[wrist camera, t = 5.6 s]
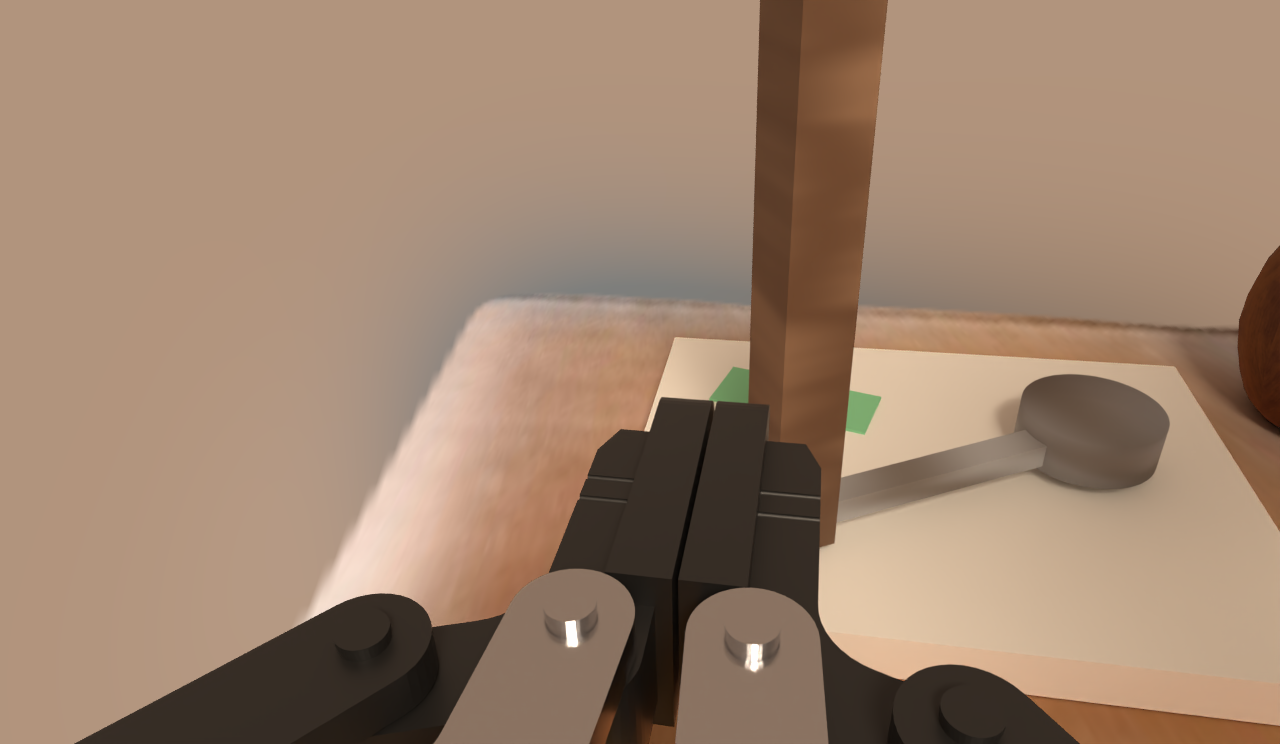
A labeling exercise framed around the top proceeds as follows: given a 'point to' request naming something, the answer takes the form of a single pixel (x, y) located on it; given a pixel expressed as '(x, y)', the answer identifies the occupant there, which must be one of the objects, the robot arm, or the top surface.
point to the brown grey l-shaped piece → (830, 280)
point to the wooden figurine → (1262, 341)
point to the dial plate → (1040, 543)
